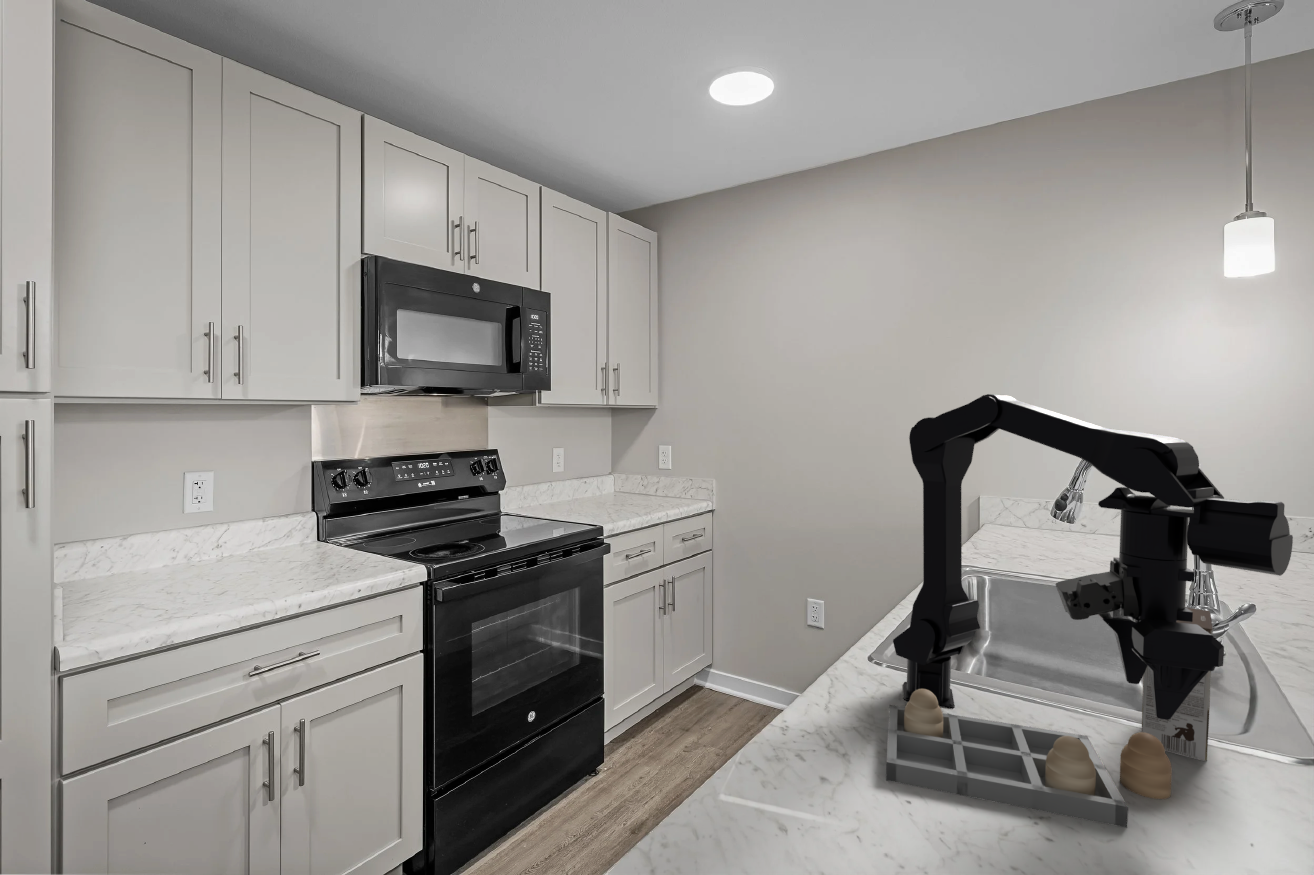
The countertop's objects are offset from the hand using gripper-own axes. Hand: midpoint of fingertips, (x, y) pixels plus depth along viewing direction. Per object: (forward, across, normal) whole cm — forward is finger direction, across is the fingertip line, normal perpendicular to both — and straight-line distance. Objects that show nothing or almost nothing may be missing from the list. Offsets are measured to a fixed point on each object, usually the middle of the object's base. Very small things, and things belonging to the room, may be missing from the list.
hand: (1146, 699), depth 70 cm
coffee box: (+10, -14, +7) cm, 19 cm away
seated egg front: (+10, +5, -8) cm, 13 cm away
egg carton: (+10, +2, -15) cm, 18 cm away
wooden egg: (+10, 0, 0) cm, 10 cm away
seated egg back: (+10, -2, -22) cm, 24 cm away
